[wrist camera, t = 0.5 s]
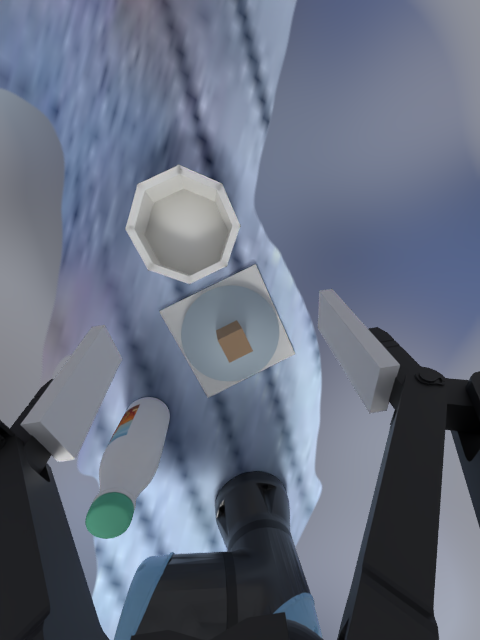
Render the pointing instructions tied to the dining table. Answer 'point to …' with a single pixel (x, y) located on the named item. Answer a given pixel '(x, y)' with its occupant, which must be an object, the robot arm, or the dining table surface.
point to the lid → (230, 333)
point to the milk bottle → (128, 466)
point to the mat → (243, 278)
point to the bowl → (182, 224)
